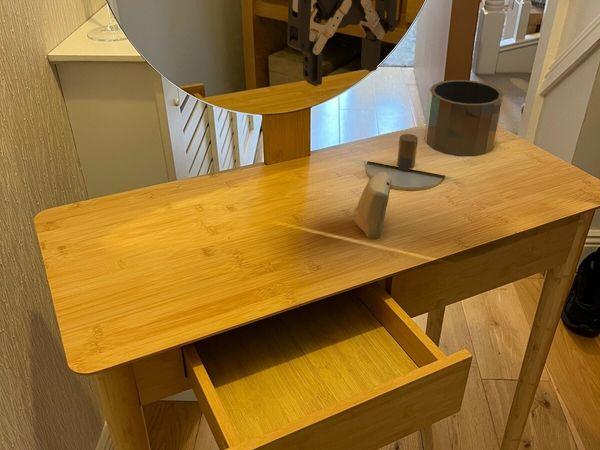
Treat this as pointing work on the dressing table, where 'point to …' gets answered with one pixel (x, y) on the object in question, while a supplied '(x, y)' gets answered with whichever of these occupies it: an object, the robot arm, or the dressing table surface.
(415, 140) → the lid
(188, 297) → the dressing table surface
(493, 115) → the pot
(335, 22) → the robot arm
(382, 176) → the beige rounded block
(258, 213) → the dressing table surface
